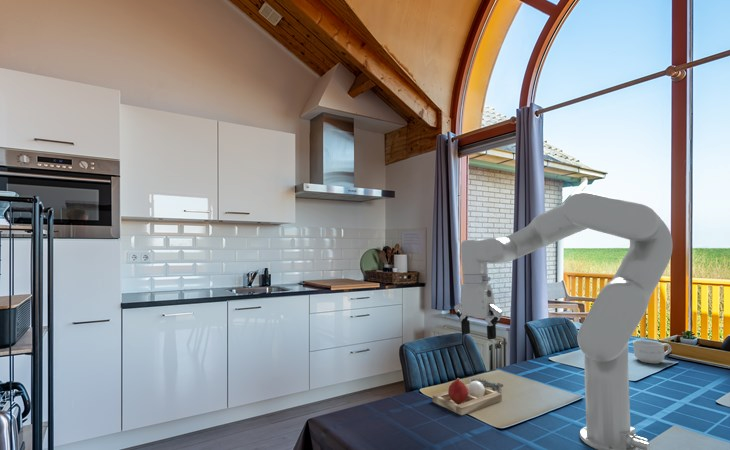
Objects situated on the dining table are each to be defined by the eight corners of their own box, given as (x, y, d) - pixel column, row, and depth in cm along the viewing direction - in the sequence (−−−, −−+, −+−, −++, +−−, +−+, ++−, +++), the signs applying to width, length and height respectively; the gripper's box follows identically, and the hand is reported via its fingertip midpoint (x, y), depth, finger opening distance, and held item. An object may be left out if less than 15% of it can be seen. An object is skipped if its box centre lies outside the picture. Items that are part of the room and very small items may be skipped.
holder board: (502, 404, 123) (501, 394, 123) (462, 419, 113) (461, 408, 113) (471, 392, 133) (471, 382, 133) (432, 405, 123) (432, 395, 123)
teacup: (638, 364, 161) (637, 344, 162) (629, 357, 172) (628, 338, 172) (679, 367, 157) (678, 346, 157) (667, 359, 167) (666, 340, 168)
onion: (444, 402, 122) (444, 376, 122) (459, 399, 124) (459, 373, 125) (456, 409, 117) (456, 382, 117) (472, 406, 119) (471, 379, 119)
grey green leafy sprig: (505, 397, 129) (505, 384, 129) (485, 400, 127) (485, 387, 127) (486, 386, 140) (485, 374, 140) (467, 388, 137) (467, 376, 137)
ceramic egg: (488, 398, 125) (488, 381, 125) (477, 402, 122) (477, 385, 122) (475, 393, 129) (475, 377, 129) (464, 397, 126) (464, 380, 126)
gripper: (507, 279, 117) (510, 338, 116) (461, 278, 131) (464, 330, 130) (491, 281, 113) (494, 343, 111) (445, 279, 127) (448, 334, 125)
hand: (478, 336), depth 121 cm, fingers open, 9 cm apart
